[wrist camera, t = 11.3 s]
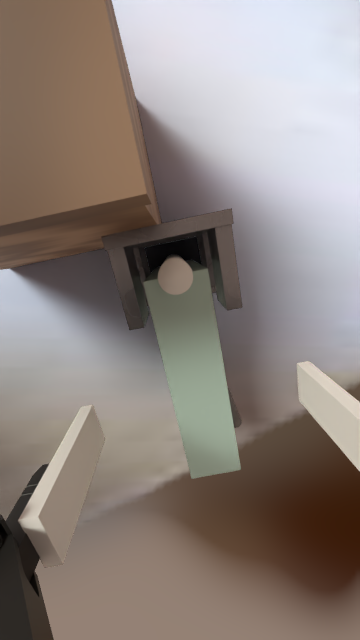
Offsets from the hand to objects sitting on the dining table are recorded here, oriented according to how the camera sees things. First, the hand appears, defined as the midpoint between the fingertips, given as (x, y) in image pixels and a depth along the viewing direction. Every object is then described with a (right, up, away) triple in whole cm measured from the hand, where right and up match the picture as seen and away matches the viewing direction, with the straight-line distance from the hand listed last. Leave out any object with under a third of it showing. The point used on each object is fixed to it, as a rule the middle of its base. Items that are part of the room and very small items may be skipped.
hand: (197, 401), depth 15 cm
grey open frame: (-2, +11, +11) cm, 16 cm away
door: (0, +4, +13) cm, 14 cm away
